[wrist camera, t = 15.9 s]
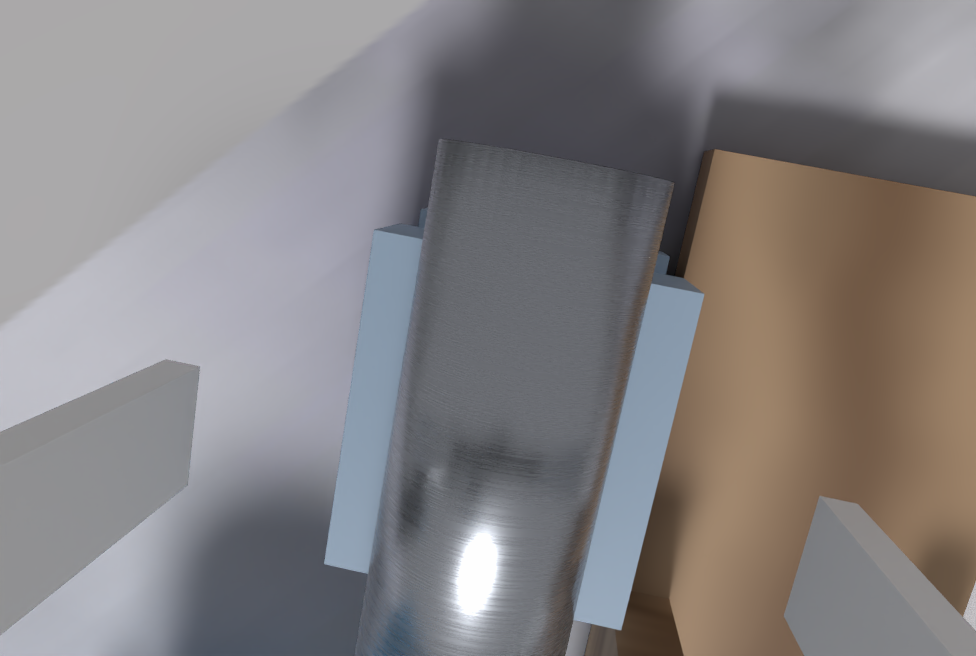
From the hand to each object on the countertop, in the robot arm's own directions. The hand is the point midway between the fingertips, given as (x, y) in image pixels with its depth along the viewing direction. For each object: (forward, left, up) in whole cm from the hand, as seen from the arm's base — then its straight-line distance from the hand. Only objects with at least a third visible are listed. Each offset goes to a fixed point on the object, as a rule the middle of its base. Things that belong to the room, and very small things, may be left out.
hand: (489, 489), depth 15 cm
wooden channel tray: (+9, -5, -8) cm, 13 cm away
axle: (+1, 0, -4) cm, 4 cm away
